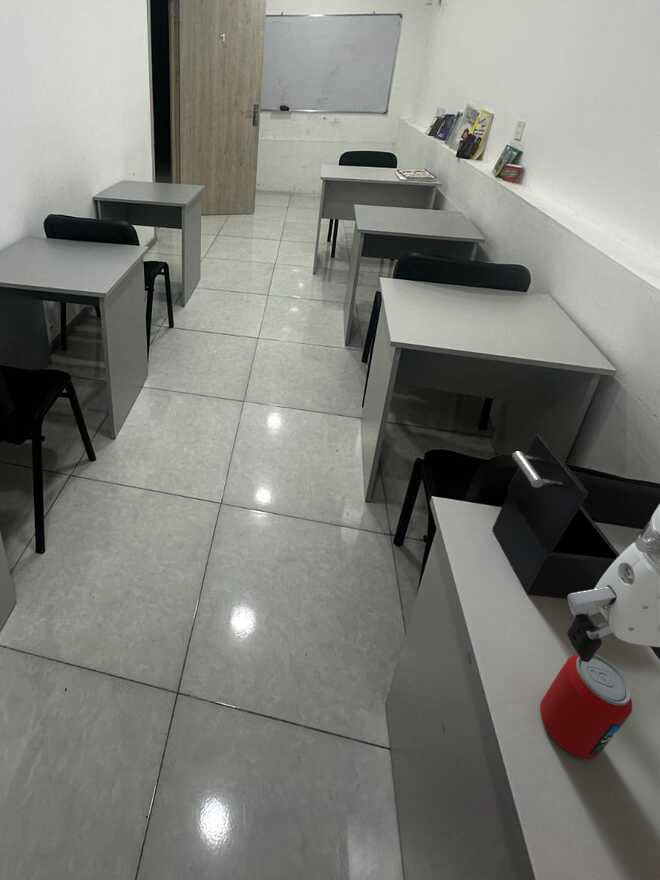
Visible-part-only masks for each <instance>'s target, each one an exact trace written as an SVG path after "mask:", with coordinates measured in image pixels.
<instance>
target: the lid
mask: <svg viewBox="0 0 660 880" xmlns="http://www.w3.org/2000/svg"><path fill="white" fill-rule="evenodd" d="M511 457H512V459H513V461H514V462H515V463H516V465H517V466H518V468H517V470H516V472H515V474H514V476H513V478H512V480H511V482H510V483H509V485H508V487H507V489H506V491H507V494H508V493H509V494H510V496H511V498H512V499H513V501H514V502H515V504H516V505H517V507H518V509H519V510H520V512H521V513H522V515H523V517H524V518H525V520H526V521H527V523H528V525H529V526H530V528H531V529H532V531H533V533H534V534H535V536H536V537H537V539H538V541H539V542H540V544H541V545H542V547H543V549H544V550H545V552H546V553H552V551H553V550H554V548H555V546H556V545H557V543H558V541H559V540H560V538H561V537H562V535H563V533H564V532H565V530H566V529H567V527H568V525H569V524H570V522H571V521H572V519H573V517H574V516H575V514H576V512H577V511H578V509H579V508H580V506H582V504H583V503H584V501H585V500H586V498H587V497H588V495H589V491H588V490H587V489H586V488H585V487H584V485H583V484H582V483H581V481H579V479H578V478H577V477H576V476H575V474H574V473H573V471H571V469H570V468H569V467H568V466H567V465H566V463H565V462H564V461H563V460H562V458H561V457H560V456H559V454H557V452H556V451H555V450H554V449H553V447H552V446H551V445H550V444H549V443H548V441H547V440H546V439H545V437H544V436H543V435H542V434H541V433H536V434H535V436H534V438H533V439H532V441H531V443H530V445H529V447H528V449H527V451H526V453H524V452H523V451H520V450H517V451H514V452H513V453H512V454H511Z"/></svg>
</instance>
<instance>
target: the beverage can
mask: <svg viewBox="0 0 660 880" xmlns="http://www.w3.org/2000/svg"><path fill="white" fill-rule="evenodd" d="M632 712H633V701H632V691H631V687H630V685H629V682H628V680H627V679H626V678H625V676H624V675H623V674H622V673H621V671H620V670H619V669H618V668H617V667H616V666H615V665H614V664H613V663H611V662H610V661H608V659H606V658H603V657H602V656H600V655H598V654H596V653H595V654H594V656H593V657H592V659H591V660H590V661H589V662H583V661H582V660H581V658H580V657H579V655H578V653H577V654H573V655H571V656H569V657H568V658H567V660H566V661H565V663H564V664H563V666H562V667H561V669H560V670H559V672H558V673H557V674H556V677H555V678H554V680H553V681H552V683H551V684H550V686H549V688H548V689H547V691H546V693H545V694H544V696H543V698H542V700H541V701H540V704H539V713H540V717H541V719H542V723H543V725H544V728H546V730H547V732H548V733H549V735H550V736H551V738H552V739H553V740H554V741H555V742H556V743H557V744H558V745H559V746H560V747H562V748H563V749H564V750H565V751H566V752H567V753H569V754H570V755H573V756H574V757H576V758H579V759H582V760H593V759H595V758H597V757H598V756H599V755H600V754H601V752H602V751H603V750H604V749H605V747H606V746H607V745H608V744H609V743H610V742H611V741H612V739H613V738H614V737H615V735H616V734H617V732H619V730H620V729H621V728H622V726H623V725H624V724H625V722H626V721H627V720H628V718H629V717H630V716H631V714H632Z"/></svg>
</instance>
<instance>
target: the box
mask: <svg viewBox="0 0 660 880" xmlns="http://www.w3.org/2000/svg"><path fill="white" fill-rule="evenodd" d="M492 529H493V531H494V533H495V535H494V537H495V538H496V541H497V542H498V544H499V543H500V544H499V546H500V545H501V546H500V548H501V547H502V548H501V549H502V551H503V554H504V555H505V556H506V559H507V561H508V562H509V564H510V566H511V568H512V570H513V572H514V574H515V575H516V577H517V579H518V581H519V583H520V585H521V587H522V588H523V590H524V592H525V594H526V595H528V596H535V597H537V596H538V597H547V598H555V599H563V600H564V599H565V600H568V598H567V596H568V595H569V594H571V593H576V592H581V591H587V590H593V589H595V587H596V585H597V584H598V582H599V580H600V579H601V577H602V576H603V575H604V573H605V572H606V571H607V569H608V568H609V567H610V566H611V565H612V563H613V562H614V561H615V560H616V559H617V558H618V557H619V556H620V555H621V553H619V552H618V550H617V549H616V548H615V547H614V546H613V544H612V542H610V540H609V539H608V537H606V535H605V534H604V532H603V531H602V530H601V529H600V527H599V526H598V525H597V524H596V522H595V521H594V520H593V518H592V516H590V515H589V513H588V512H587V511H586V509H585V508H584V507H583V505H581V506H580V508H579V509H578V511H577V512H576V514H575V516H574V517H573V519H572V521H571V522H570V524H569V525H568V527H567V529H566V530H565V532H564V533H563V535H562V537H561V538H560V540H559V541H558V543H557V545H556V546H555V548H554V550H553V551H552V553H546V552H545V550H544V549H543V547H542V545H541V544H540V542H539V541H538V539H537V537H536V536H535V534H534V533H533V531H532V529H531V528H530V526H529V525H528V523H527V521H526V520H525V518H524V517H523V515H522V513H521V512H520V510H519V509H518V507H517V505H516V504H515V502H514V501H513V499H512V498H511V496H510V494H509V493H508V492H507V495H506V496H505V499H504V501H503V503H502V506H501V508H500V511H499V513H498V514H497V517H496V520H495V522H494V524H493V526H492ZM492 529H491V530H492ZM493 531H492V532H493ZM494 533H493V534H494Z"/></svg>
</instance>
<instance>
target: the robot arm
mask: <svg viewBox="0 0 660 880" xmlns="http://www.w3.org/2000/svg"><path fill="white" fill-rule="evenodd" d="M567 598H568V599H567V603H568V609H569V611H570V612H571V613H572V615H573V617H574V620H573V622H572V623H571V625H570V626H569V628H568V630H567V631H566V635H567V638H568V640H569V642H570V644H571V646H572V647H573V648H574V650H575V651H576V653H577V654H578V655H579V657H580V658H581V660H582V661H583V662H589V661H590V660H591V659H592V657H593V656H594V654H595V655H596V653H597V652H598V650H599V649H600V648H601V645H602V644H603V641H602V637H605V636H608V635H611V634H612V633H613V635H614V636H615V637H616V638H617V639H618V640H621V641H623V642H625V643H628V644H633V645H639V646H648V647H650V649H651V650H652V651H653V653H654V655H655V656H656V657H657V659H658V660H659V661H660V503H659V504H658V506H657V507H656V509H655V510H654V512H653V514H652V515H651V517H650V518H649V519H648V521H647V523H646V525H645V526H644V528H643V529H642V531H641V532H640V534H639V536H638V537H637V538H636V539H635V542H632V543H631V544H630V545H629V546H627V547H626V548H625V549H624V551H622V552H621V553H620V556H619V557H618V558H617V559H616V560H615V561H614V562H613V563H612V565H611V566H610V567H609V568H608V569H607V571H606V572H605V573H604V575H603V576H602V577H601V579H600V580H599V582H598V584H597V585H596V587H595V589H593V590H587V591H581V592H576V593H571V594H569V595H568V596H567ZM608 607H609V611H608V609H607V608H608ZM597 613H600V614H601V616H602V617H603V619H604V620H605V621H604V622H602V623H598V624H595V623H594V621H593V620H592V618H591V616H593V615H596V614H597Z"/></svg>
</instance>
